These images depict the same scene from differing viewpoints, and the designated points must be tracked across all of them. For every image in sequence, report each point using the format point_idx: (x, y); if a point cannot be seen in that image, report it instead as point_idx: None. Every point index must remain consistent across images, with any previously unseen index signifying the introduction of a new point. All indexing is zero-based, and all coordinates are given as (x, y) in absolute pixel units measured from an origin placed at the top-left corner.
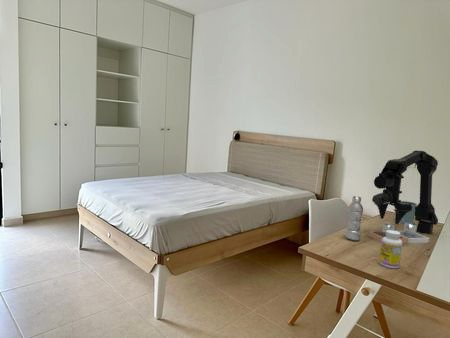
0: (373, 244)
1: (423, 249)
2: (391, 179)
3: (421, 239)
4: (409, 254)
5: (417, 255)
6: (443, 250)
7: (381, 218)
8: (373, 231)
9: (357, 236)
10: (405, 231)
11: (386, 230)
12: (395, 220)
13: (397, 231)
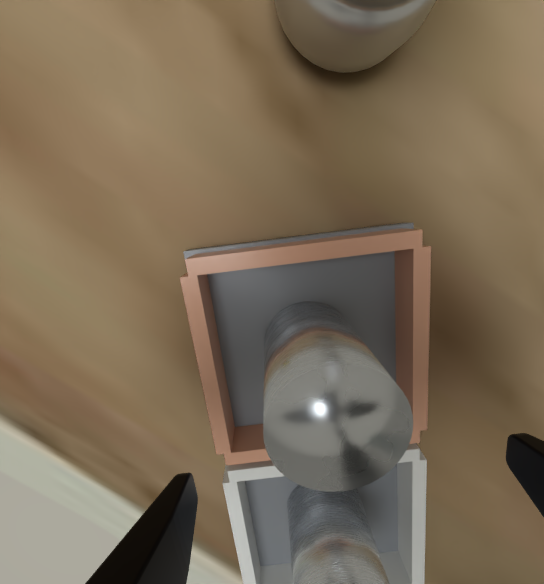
0: (219, 166)
1: (159, 479)
2: None
3: (239, 553)
4: (36, 330)
5: (30, 374)
6: None
7: (511, 437)
8: (416, 279)
9: None
10: (332, 533)
11: (285, 347)
12: (155, 527)
13: (411, 497)
